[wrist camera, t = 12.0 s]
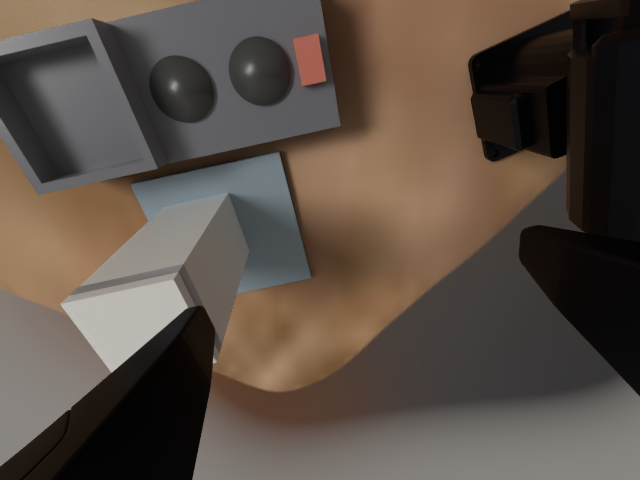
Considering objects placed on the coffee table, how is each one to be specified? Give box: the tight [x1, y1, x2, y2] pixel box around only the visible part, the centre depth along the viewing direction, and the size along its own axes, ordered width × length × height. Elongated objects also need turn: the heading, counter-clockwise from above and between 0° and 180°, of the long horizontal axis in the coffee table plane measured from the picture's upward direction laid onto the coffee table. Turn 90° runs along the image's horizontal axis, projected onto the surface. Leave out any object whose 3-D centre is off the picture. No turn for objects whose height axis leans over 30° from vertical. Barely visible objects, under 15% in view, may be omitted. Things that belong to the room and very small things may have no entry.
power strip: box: [0, 0, 341, 195], centre depth 16 cm, size 16×7×4 cm, turn 101°
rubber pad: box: [131, 151, 311, 294], centre depth 22 cm, size 10×10×1 cm
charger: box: [60, 193, 249, 372], centre depth 17 cm, size 4×4×10 cm
